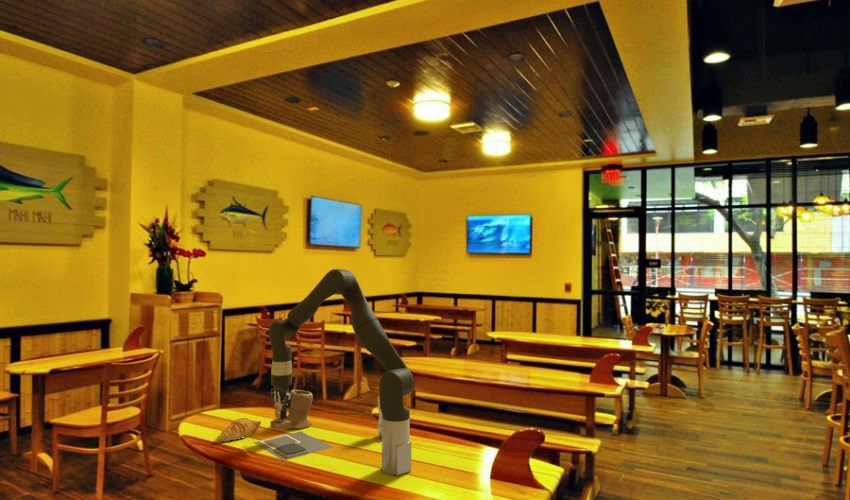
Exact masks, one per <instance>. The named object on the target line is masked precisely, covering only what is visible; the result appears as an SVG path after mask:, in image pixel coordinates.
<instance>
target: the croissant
mask: <svg viewBox="0 0 850 500" xmlns="http://www.w3.org/2000/svg"><path fill="white" fill-rule="evenodd" d="M260 426H261V421H259V420H257V421H256V420H251V419H248V418H244V417H242V418H237V419H235V420H233V421H232V422H231V423H230V424H229V425H227V427H225V430H223V431H221V432H220V434H219V435H217V437H216V440H217V442H220V443H222V442H223V441H224V442H231V441H230V440H233V441H236V440H235V439H239V438H242V437H246V436H247V435H250V434H252V433H253V432H254V433H255V432H256V431H257V430H259V428H260ZM254 433H253V434H254ZM253 434H252V435H253ZM250 436H251V435H250ZM246 438H247V437H246ZM239 440H240V439H239ZM224 442H223V443H224Z"/></svg>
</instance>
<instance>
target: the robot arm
mask: <svg viewBox="0 0 850 500" xmlns="http://www.w3.org/2000/svg"><path fill="white" fill-rule="evenodd" d="M334 295H339V296H342V297H343V299H344V300H345V302H346V304H347V306H348V307H349V308H348V309H349V310H350V317H351V318H350V319H351V326H352V330H353V331H354V332H353V333H354V334H355V335H356V337H357V340H358V341H359V343H360V344H361V346H362V347H363V348H364V349H365V350H366V351H368V352H369V353H370V354H371V355H373V356H374V357H375V358H376V359H377V360H378V361H379V362H380V363H381V364H382V365H383V367H384V369H385V372H384V373H383V374H382V375H381V377H380V378H379V379H380V380H379V388H378V389H379V391H378V393H379V394H378V396H379V395H380V409H381V412H382V437H381V471H382V472H383V473H384V474H387V475H392V476H394V475H395V476H397V477H398V476H400V475H404V474H406V473H409V472H411V471H412V442H411V441H410V433H411V432H410V429H411V428H410V427H411V426H410V424H411V421H410V418H411V414H410V413H411V412H410V409H409V407H407V406H404V398H403V397H404V396H407V395H409V394H411V393H412V392H413V390H414V388H415V377H414V375H413V373H412V372H411V370H410V368H409V366H407V365H406V363H405V362H404V360H403V359H402V357H401V356H400V355H399V354H398V352H397V351H396V349H395V346H393V343H392V342H391V340H390V339H389V337H388V336H387V334H386V332H385V329H384V328H383V326H382V325H381V323H380V321H379V318H378V317H377V316H376V315H375V313H374V311H373V308H372V307H371V305H370V304H369V302H368V301H367V299H366V296H365V295H364V292H363V290H362V288H361V285H360V284H359V281H358V279H357V277H356V276H355V274H354V273H353V272H351V271H350V270H347V269H340V268H334V269H331V270H329V271H328V272H327V273H326V274H325V275H324V276H323V277H322V278H321V279H320V281H319V282H318V283H317V284H316V285H315V286H314V287H313V289H312V290H311V291H310V292H309V294H307V295H306V296H305V297H304V298H303V300H301V301H300V302H298V303H297V304H296V305H295V306H294V307H292V309H291V310H290V311H289V312H288V313H287V318H286V319H281V320H275V321H273V322H271V324H270V325H269V328H268V336H269V337H268V338H269V341H270V345H271V348H272V349H271V350H272V355H271V356H272V359H271V360H272V363H271V378H270V379H271V381H270V382H271V386H272V387H273V388H271V389H270V396H271V404H272V405H274V408H276V403H277V401H278V400H279V404H280V408H281V410H280V419H281V420H284V419H286V418H287V416H288V415H287V414H288V413H287V411H288V408H290V406H291V401H292V397H293V395H292V394H289V393H290V390H289V386H291V385H292V381H293V378H292V377H293V374H292V373H293V364H292V363H293V362H292V355H293V354H292V347H291V345H290V344H286V341H285V339H287V338H290V337H292V336H293V337H294V335H296V334H297V333H298V331H299V330H300V328H301V327H302V326H303V325H304V324H305V323H306V322H308V321H309V320H310V319H312V317H314V315H315V314H316V313H317V312H318V310H319V307H320V306H321V305H322V303H323V302H325V301H326V300H327V299H328V298H331V296H334ZM281 400H284V401H281ZM283 403H284V404H283ZM274 413H275V417H276V410H275V412H274Z"/></svg>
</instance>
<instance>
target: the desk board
mask: <svg viewBox="0 0 850 500" xmlns="http://www.w3.org/2000/svg"><path fill="white" fill-rule="evenodd" d="M253 444H255V445H256V446H259V447H260V448H262V449H263V450H265V451H267V452H268V453H270V454H271V455H274V456H275V457H277V458H279V460H282V461H289V460H291V459H295V458H299V457H302V456H306V455H310V454H314V453H317V452H321V451H324V450H328V449H332V448H333V446H332V445H330V444H328V443H326V442H324V441H322V440H319V439H317V438H316V437H313V436H312V435H309V434H307V433H305V432H303V431H297V432H293V433H287V434H284V435H279V436H275V437H271V438H267V439H263V440H260V441H258V440H257V441H256V442H253Z"/></svg>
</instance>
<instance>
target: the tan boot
mask: <svg viewBox="0 0 850 500" xmlns="http://www.w3.org/2000/svg"><path fill="white" fill-rule="evenodd" d="M289 394H292V395H293V397H292V401H291V406H290V408H288V409H287V411H288V415H287V418H286V419H287V420H289V421H291V427H290V429H297V430H303V429H306V428H308V427H310V426H311V425H312V422H311V421H310V420H309V419H308V415H309V412H310V409H311V408H312V404H313V400H314V397H313V396H314V395H313V393H312V392H311V391H306V390H301V389H292V390H289ZM273 420H276V418H274V419H273Z"/></svg>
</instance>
